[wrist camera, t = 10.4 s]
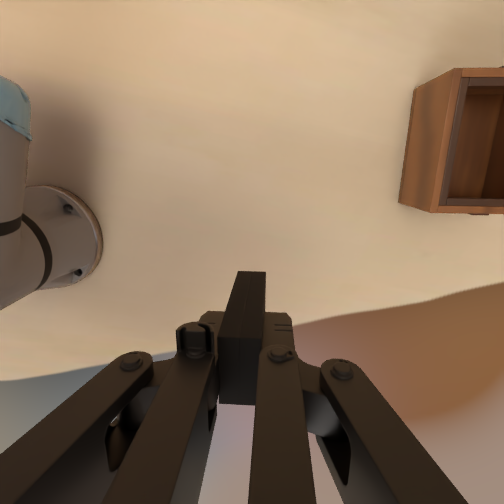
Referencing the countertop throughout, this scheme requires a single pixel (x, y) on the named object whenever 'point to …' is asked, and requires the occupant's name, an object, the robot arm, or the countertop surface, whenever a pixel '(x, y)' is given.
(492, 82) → the wooden storage crate
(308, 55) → the countertop surface
